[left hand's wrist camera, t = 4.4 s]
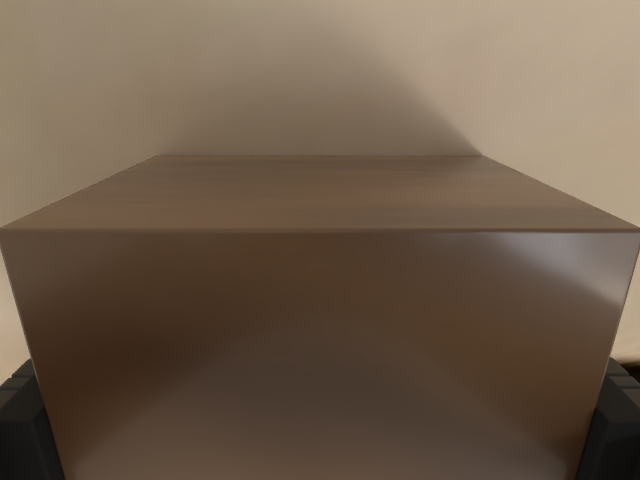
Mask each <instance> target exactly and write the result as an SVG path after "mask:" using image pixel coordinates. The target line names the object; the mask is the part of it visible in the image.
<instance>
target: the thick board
mask: <svg viewBox="0 0 640 480" xmlns="http://www.w3.org/2000/svg"><path fill="white" fill-rule="evenodd" d="M0 248H1V252H2V256H3V259H4V263H5V266H6V270H7V274H8V277H9V281H10V284H11V288H12V292H13V295H14V299H15V302H16V306H17V309H18V313H19V317H20V320H21V324H22V327H23V331H24V335H25V338H26V342H27V345H28V349H29V353H30V356H31V360H32V363H33V367H34V371H35V374H36V378H37V381H38V385H39V388H40V392H41V396H42V399H43V403H44V406H45V410H46V414H47V417H48V421H49V424H50V428H51V432H52V435H53V439H54V442H55V446H56V450H57V453H58V457H59V460H60V464H61V468H62V471H63V475H64V478H65V480H576V476H577V473H578V469H579V465H580V462H581V458H582V455H583V451H584V448H585V444H586V440H587V437H588V433H589V430H590V426H591V422H592V419H593V415H594V412H595V408H596V405H597V401H598V397H599V394H600V390H601V387H602V383H603V379H604V376H605V372H606V369H607V365H608V362H609V358H610V354H611V351H612V347H613V344H614V340H615V336H616V333H617V329H618V326H619V322H620V319H621V315H622V311H623V308H624V304H625V301H626V297H627V293H628V290H629V286H630V283H631V279H632V276H633V272H634V268H635V265H636V261H637V258H638V254H639V251H640V228H639V227H637V226H635V225H633V224H631V223H629V222H626V221H624V220H622V219H620V218H618V217H616V216H613V215H611V214H609V213H607V212H605V211H603V210H600V209H598V208H596V207H594V206H592V205H590V204H587V203H585V202H583V201H581V200H579V199H577V198H574V197H572V196H570V195H568V194H566V193H564V192H561V191H559V190H557V189H555V188H553V187H551V186H548V185H546V184H544V183H542V182H540V181H538V180H535V179H533V178H531V177H529V176H527V175H525V174H522V173H520V172H518V171H516V170H514V169H512V168H509V167H507V166H505V165H503V164H501V163H499V162H496V161H494V160H492V159H490V158H488V157H485V156H155V157H153V158H150V159H148V160H146V161H144V162H142V163H140V164H137V165H135V166H133V167H131V168H129V169H127V170H124V171H122V172H120V173H118V174H116V175H114V176H111V177H109V178H107V179H105V180H103V181H101V182H98V183H96V184H94V185H92V186H90V187H88V188H85V189H83V190H81V191H79V192H77V193H75V194H72V195H70V196H68V197H66V198H64V199H62V200H59V201H57V202H55V203H53V204H51V205H49V206H46V207H44V208H42V209H40V210H38V211H36V212H33V213H31V214H29V215H27V216H25V217H23V218H21V219H18V220H16V221H14V222H12V223H10V224H8V225H5V226H3V227H1V228H0Z"/></svg>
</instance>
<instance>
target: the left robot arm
mask: <svg viewBox="0 0 640 480" xmlns="http://www.w3.org/2000/svg"><path fill="white" fill-rule="evenodd" d="M0 480H65V478H64V475H63V471H62V468H61V464H60V460H59V457H58V453H57V450H56V446H55V442H54V439H53V435H52V432H51V428H50V424H49V421H48V417H47V414H46V410H45V406H44V403H43V399H42V396H41V392H40V388H39V385H38V381H37V378H36V374H35V371H34V367H33V363H32V360H31V358H30V359H29V360H27V361H26V362H25V363H24V364H23V365H22V366H21V367H20V368H19V369H18V370H17V371H16V372H15V373H14V374H13V375H12V378H8V379H7V380H6V381H5V382H4V383H3V384H2V385H1V386H0ZM576 480H640V384H639V383H638V382H637V381H636V380H635V379H634V378H633V377H630V376H629V373H628V372H627V371H626V370H625V369H624V368H622V367H621V366H620V365H619V364H618V363H617V362H616V361H615V360H614V359H613V358H611V357H610V358H609V362H608V365H607V369H606V372H605V376H604V379H603V383H602V387H601V390H600V394H599V397H598V401H597V405H596V408H595V412H594V415H593V419H592V422H591V426H590V430H589V433H588V437H587V440H586V444H585V448H584V451H583V455H582V458H581V462H580V465H579V469H578V473H577V476H576Z"/></svg>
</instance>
